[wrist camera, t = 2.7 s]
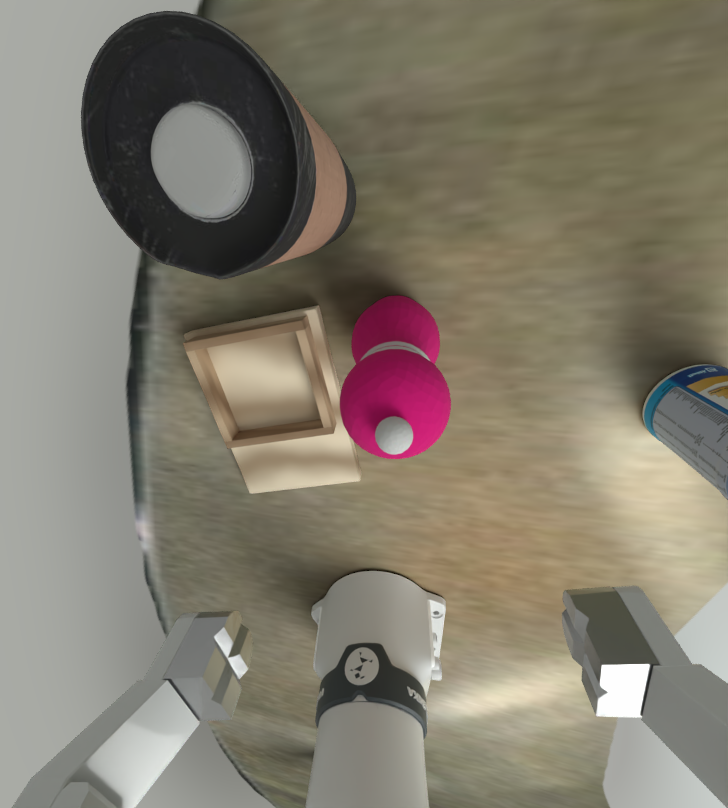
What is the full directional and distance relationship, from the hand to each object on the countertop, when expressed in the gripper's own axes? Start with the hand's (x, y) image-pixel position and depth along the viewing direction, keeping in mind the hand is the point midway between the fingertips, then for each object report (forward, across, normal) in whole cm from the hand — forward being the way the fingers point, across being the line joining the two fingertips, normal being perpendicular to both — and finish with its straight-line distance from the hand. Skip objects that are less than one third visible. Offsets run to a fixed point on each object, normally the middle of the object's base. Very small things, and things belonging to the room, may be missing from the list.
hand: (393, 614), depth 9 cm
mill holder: (+28, -13, -6) cm, 31 cm away
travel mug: (+28, -5, +12) cm, 31 cm away
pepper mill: (+28, 0, 0) cm, 28 cm away
